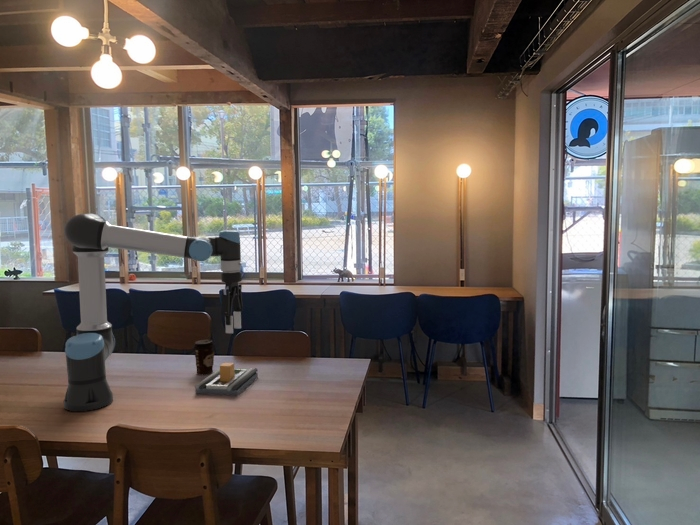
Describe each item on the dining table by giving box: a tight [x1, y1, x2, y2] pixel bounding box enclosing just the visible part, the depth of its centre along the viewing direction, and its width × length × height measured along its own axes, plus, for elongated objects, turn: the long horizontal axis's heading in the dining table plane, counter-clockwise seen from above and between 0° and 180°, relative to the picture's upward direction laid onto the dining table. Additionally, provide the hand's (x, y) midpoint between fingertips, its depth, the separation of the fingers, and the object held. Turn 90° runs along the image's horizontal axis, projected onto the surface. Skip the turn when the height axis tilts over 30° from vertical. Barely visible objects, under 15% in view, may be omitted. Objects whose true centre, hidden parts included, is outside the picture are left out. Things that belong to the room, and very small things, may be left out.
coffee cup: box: [192, 339, 216, 376], centre depth 214 cm, size 9×8×13 cm
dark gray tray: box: [194, 367, 258, 391], centre depth 199 cm, size 22×15×1 cm
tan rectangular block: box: [219, 362, 235, 382], centre depth 199 cm, size 4×4×6 cm
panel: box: [194, 368, 258, 397], centre depth 199 cm, size 20×16×3 cm
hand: (233, 330), depth 205 cm, fingers open, 7 cm apart
